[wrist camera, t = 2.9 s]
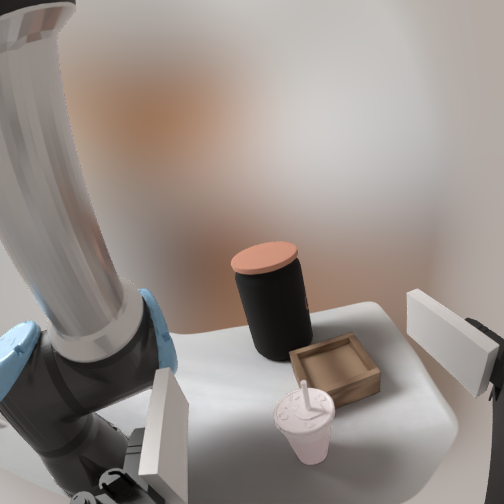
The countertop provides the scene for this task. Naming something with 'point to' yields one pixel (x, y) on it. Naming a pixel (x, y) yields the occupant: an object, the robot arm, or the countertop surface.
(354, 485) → the countertop surface
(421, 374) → the countertop surface
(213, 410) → the countertop surface
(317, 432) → the smoothie
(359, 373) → the wooden tray
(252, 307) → the coffee jar
